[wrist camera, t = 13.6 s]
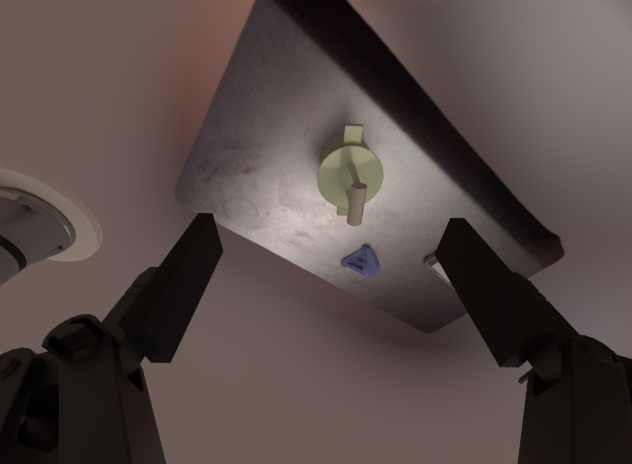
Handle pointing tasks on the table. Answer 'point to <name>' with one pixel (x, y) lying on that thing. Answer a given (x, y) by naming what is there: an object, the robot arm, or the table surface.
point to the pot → (349, 137)
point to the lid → (350, 179)
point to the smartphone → (436, 268)
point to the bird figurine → (363, 262)
